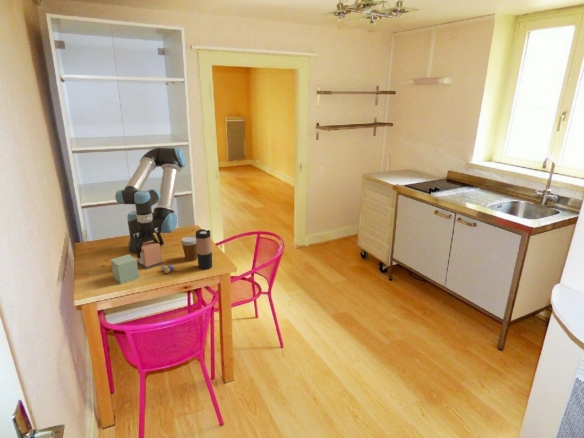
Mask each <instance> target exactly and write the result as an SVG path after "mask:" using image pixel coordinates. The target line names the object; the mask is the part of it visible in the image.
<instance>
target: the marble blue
mask: <svg viewBox="0 0 584 438" xmlns="http://www.w3.org/2000/svg"><path fill="white" fill-rule="evenodd" d="M167 268H170V272H171V271H173V270H174V268H175V267H174V265H173V264H169V265H168V266H167Z"/></svg>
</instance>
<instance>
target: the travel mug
mask: <svg viewBox="0 0 584 438" xmlns="http://www.w3.org/2000/svg"><path fill="white" fill-rule="evenodd" d="M195 236H196V246H197V265H198V269H199V270H202V271H203V270H205V271H206V270H210V269H212V268H213V249H212V237H211V230H210V229H208V230H207V229H198V230H196V231H195Z"/></svg>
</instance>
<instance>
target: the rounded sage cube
mask: <svg viewBox="0 0 584 438" xmlns="http://www.w3.org/2000/svg"><path fill="white" fill-rule="evenodd" d="M110 263H111V269H112V275H113V279H114V278H115V281H116V282H117V283H119V284H120V285H122V284H126V283H128V282H130V281H133V280H138V279H140V274H139V266H138V259H136V258H135V257H133V256H132V255H131V254H129V253H128V254H125V255H122V256H119V257H115V258H111V259H110Z"/></svg>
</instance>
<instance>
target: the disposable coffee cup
mask: <svg viewBox="0 0 584 438" xmlns="http://www.w3.org/2000/svg"><path fill="white" fill-rule="evenodd" d="M180 243H181V245H182V249H183V253H184V259H185V261H187V262H194V261H196V260H198V257H197V246H196V235H188V236H184V237H182V238H181V241H180Z"/></svg>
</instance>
